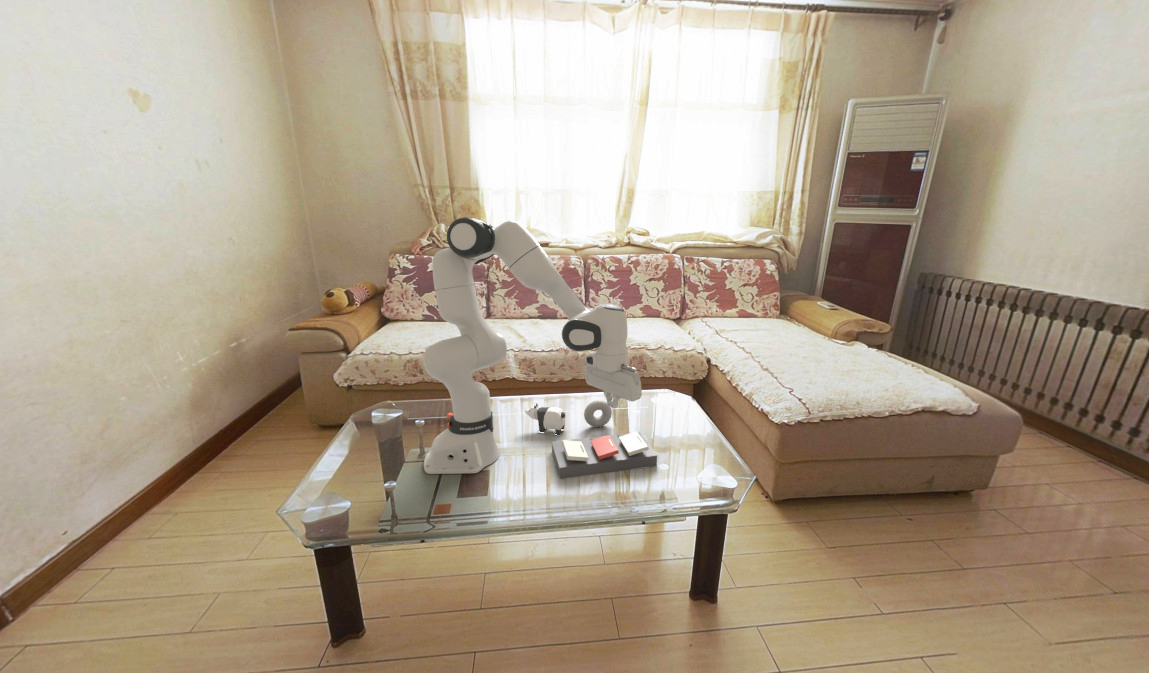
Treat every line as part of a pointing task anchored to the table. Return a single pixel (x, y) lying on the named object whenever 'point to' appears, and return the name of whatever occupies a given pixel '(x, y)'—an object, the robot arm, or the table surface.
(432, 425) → the table surface
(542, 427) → the giant panda
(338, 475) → the table surface
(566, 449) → the rocker left
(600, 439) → the rocker middle
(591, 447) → the rocker switch panel
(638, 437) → the rocker right
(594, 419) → the donut
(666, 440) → the table surface
